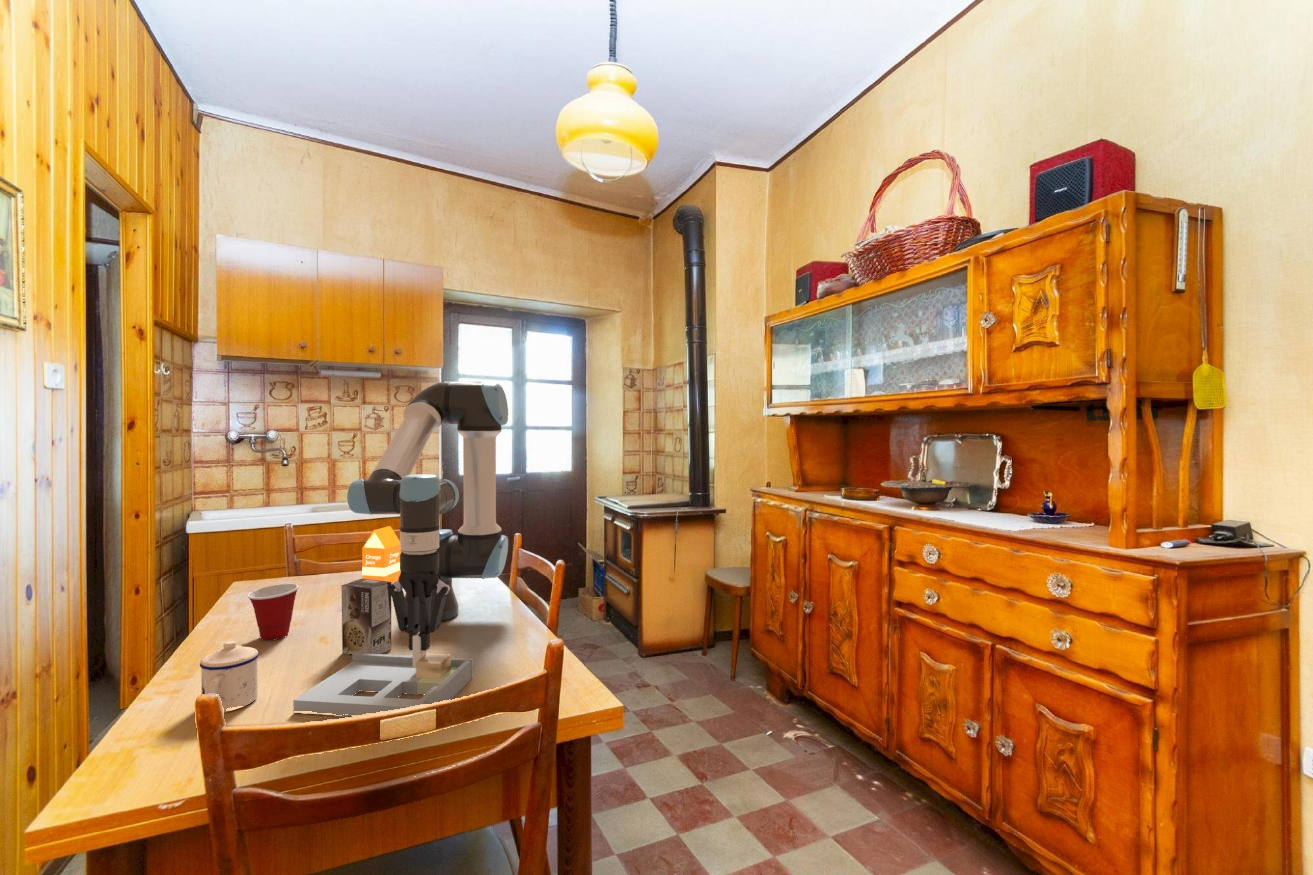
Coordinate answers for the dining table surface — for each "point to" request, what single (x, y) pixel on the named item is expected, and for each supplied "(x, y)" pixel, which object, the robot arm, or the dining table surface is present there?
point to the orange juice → (381, 556)
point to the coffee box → (366, 617)
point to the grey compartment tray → (381, 685)
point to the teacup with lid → (231, 674)
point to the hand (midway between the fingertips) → (419, 665)
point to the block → (433, 665)
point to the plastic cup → (273, 609)
